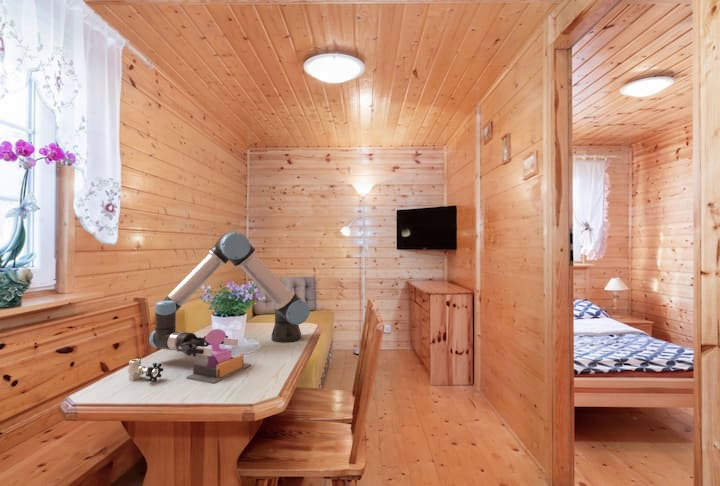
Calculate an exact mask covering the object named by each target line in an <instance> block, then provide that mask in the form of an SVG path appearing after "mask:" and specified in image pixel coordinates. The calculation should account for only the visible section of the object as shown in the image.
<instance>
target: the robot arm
mask: <svg viewBox="0 0 720 486" xmlns="http://www.w3.org/2000/svg"><path fill="white" fill-rule="evenodd" d="M256 252H257V250H256V248H255V247H254V246H253V245H252V243H251V242H250V239H248V237H247V235H245V234H243V233H241V232H239V231H232V232H227V233H224V234H222V235H221V236H220V237H219V239H218V240H217V241H216V242H215V243H214V245H213V246H212V247H211V248H210V249H209V250H208V255H206V256H205V257H204V259H202V261H201V262H199V263H198V264H197V265H196V266H195V267H194V268H193V269H192V270H191V271H190V273H189V274H188V275H187V276H186V277H184V279H183V280H182V281H180V282H179V283H178V284H177V285H176V287H175V288H174V289H172V291H171V292H170V293H169V294H168V295H167V296H166V297H165V298H164V299H163V300H159V301H156V303H155V306H154V307H155V308H154V316H155V319H154V320H155V327H154V330H153V331H152V332H151V333H150V336H149V339H148V341H149V342H148V343H149V345H151V347H152V348H156V349H159V350H170V351H175V352H177V353H178V352H182V353H183V354H185V355H186V356H188V357H190V356H192V357H194V358H195V357H197V355H200V356H206V357H207V356H212V348H211V347H208V346H211V344H209V343H208V342H206V340H205V338H206V335H204V336H203V337H201V336H199V337H198V335H196V334H195V333H193V332H186V331H178V330H177V312H178V310H180V309H181V307H183V305H184V304H185V303H186V302H187V301H188V300H189V299H190V298H191V297H192V296H193V295H194V294H195V293H196V292H197V291H198V290H199V289H200V288H201V287H202V286H203V284H205V283H206V281H207V280H209V278H210V277H211V276H212V275H213V274H215V272H217V270H218V269H219V268H221V266H222V265H226V264H227V263H228V262H229V261H230V263H231V264H232V265H233V266H234V267H235V268H241V269H242V270H243V271H244V272H245V273H246V274H247V276H248V277H250V278H251V280H252V281H253V282H254V283H255V284H256V285H257V286H258V287H259V288H260V289H261V290H262V291H263V293H265V294H266V295H267V297H268V298H270V300H271V301H272V302H273V303H274V326H273V329H272V332H271V340H272V342H277V343H290V342H296V341H299V340H301V339H302V332H301V328H300V326H299V325H301V324H303V323H305V322H306V321H307V319H308V318H309V316H310V311H311V310H310V306H309V304H308V303H307V302H306V301H305V300H303V299H301V297H300V296H299V295H298V293H296V292H295V291H292V290H289V289H288V288H287V287H286V286H285V285H284V284H283V283H282V281H280V280H279V278H278V277H277V276H276V275H275V274H274V273H273V272H272V271H271V270H270V268H268V266H266V264H265V263H264V261H262V260H261V259H260V257H259V256H258V255H257V254H256ZM220 345H224V346H230V347H232V346H233V347H239V339H238V338H232V337H229V336H228V335H226V336H225V339H224V341H223V342H222V343H220Z"/></svg>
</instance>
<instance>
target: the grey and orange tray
mask: <svg viewBox="0 0 720 486" xmlns="http://www.w3.org/2000/svg"><path fill="white" fill-rule="evenodd" d="M244 361H245V360H244V354H239V355H238V356H236V357H235V356H234V357H233V356H231V359H230V360H228V361H226V362H223V363H221V364H218V365H216V367H213V368H210V367H206V366H203V365H198V364H197V365H196V364H194V365H192V366H193V367H192V368H193V369H192V371H193V373H192V374H190V375H187V376H185V378H186V379H187V380H193V381H197V382H198V381H199V382H204V383H210V384H216V383H218V382H220V381H222V380H224V379H226V378H229V377H231V376H233V375H235V374H237V373H240V372H241V371H243V370H246V369H247V368H249V367H251V366H252V363H251V364H250V363H247V362H246V363H245V362H244Z"/></svg>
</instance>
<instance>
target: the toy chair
mask: <svg viewBox="0 0 720 486" xmlns="http://www.w3.org/2000/svg"><path fill="white" fill-rule="evenodd" d="M205 336H206V338H205V340H206V342H208V343H209V344H211V345H210V346H211V347H210V348H212V356H206V358H207V363H206V366H205V367H210V368H213V367H216V365H218V364H221V363H223V362H226V361H228V360H230V359H231V357H233V355H232V350H231V349H228V348H225V347H223V346H222V347H220V346H221V344H220V343H222V342H223V341H224V339H225V336H227V335H226V331H224V330H222V329H219V328H218V329H217V328H216V329H212V330H210V331H209V332H208V333H206V335H205Z"/></svg>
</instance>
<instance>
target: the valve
mask: <svg viewBox="0 0 720 486" xmlns="http://www.w3.org/2000/svg"><path fill="white" fill-rule="evenodd" d="M151 365H152V366H148V367H146V366H145V365H142V359H141V358H134V359H130V360H129V362H128V369H127V370H128V371H127V372H128V374H129V375H128V380H130V381H134V380H138V379H141V378H142V375H144V374H145V377H148V378H147V382H153V383H154V382H157V381H158V378H160V379H161V377H162V375H163V374H161V372H163V371H164V368H163V367H162V363H157V362H153V363H152V364H151ZM154 375H155V376H154Z"/></svg>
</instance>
